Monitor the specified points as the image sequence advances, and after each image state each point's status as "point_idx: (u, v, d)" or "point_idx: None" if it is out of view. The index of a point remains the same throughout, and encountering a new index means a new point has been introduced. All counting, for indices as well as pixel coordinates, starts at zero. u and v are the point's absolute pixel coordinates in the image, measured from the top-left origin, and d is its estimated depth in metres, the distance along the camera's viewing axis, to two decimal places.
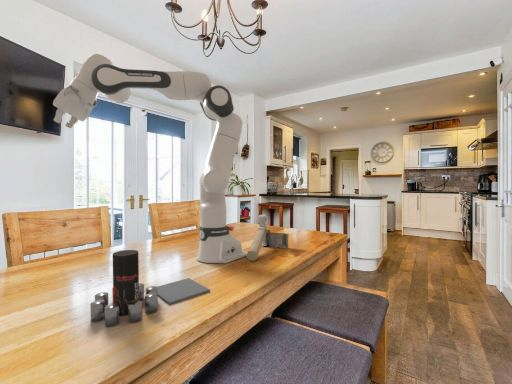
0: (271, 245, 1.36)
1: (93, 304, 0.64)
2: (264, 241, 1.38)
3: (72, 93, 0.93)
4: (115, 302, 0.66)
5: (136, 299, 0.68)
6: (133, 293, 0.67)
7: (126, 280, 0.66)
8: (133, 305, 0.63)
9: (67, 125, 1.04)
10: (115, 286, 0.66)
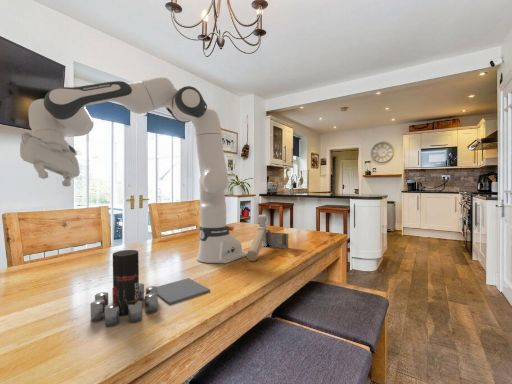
0: (271, 245, 1.36)
1: (93, 304, 0.64)
2: (264, 241, 1.38)
3: (31, 137, 0.80)
4: (115, 302, 0.66)
5: (136, 299, 0.68)
6: (133, 293, 0.67)
7: (126, 280, 0.66)
8: (133, 305, 0.63)
9: (64, 184, 0.89)
10: (115, 286, 0.66)
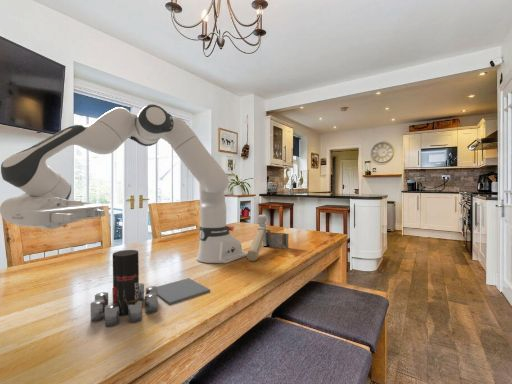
0: (271, 245, 1.36)
1: (93, 304, 0.64)
2: (264, 241, 1.38)
3: None
4: (115, 302, 0.66)
5: (136, 299, 0.68)
6: (133, 293, 0.67)
7: (126, 280, 0.66)
8: (133, 305, 0.63)
9: (99, 214, 0.76)
10: (115, 286, 0.66)
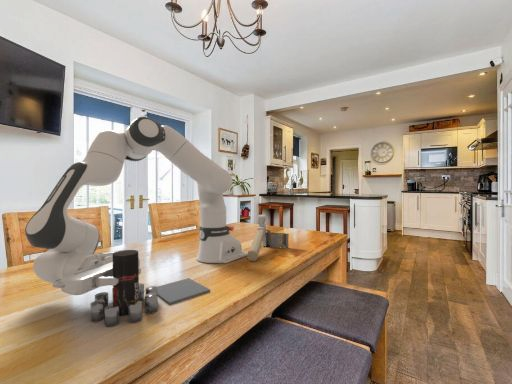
0: (271, 245, 1.36)
1: (93, 304, 0.64)
2: (263, 241, 1.38)
3: None
4: (115, 302, 0.66)
5: (136, 299, 0.68)
6: (133, 293, 0.67)
7: (126, 280, 0.66)
8: (133, 305, 0.63)
9: None
10: (115, 286, 0.66)
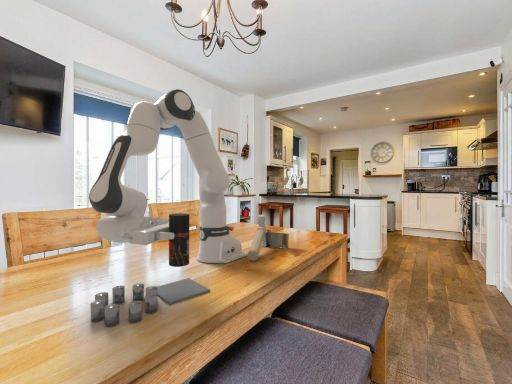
0: (271, 245, 1.36)
1: (93, 304, 0.64)
2: (263, 241, 1.38)
3: (128, 231, 0.75)
4: (171, 255, 0.78)
5: (188, 254, 0.80)
6: (186, 248, 0.79)
7: (181, 236, 0.78)
8: (133, 305, 0.63)
9: None
10: (171, 241, 0.78)
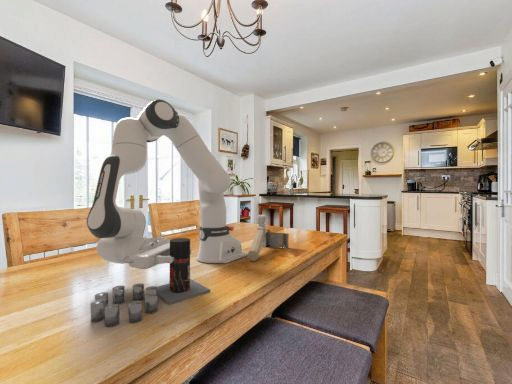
0: (271, 245, 1.36)
1: (93, 304, 0.64)
2: (263, 241, 1.38)
3: (129, 255, 0.76)
4: (172, 281, 0.79)
5: (188, 279, 0.81)
6: (187, 273, 0.80)
7: (182, 262, 0.78)
8: (133, 305, 0.63)
9: None
10: (172, 267, 0.79)
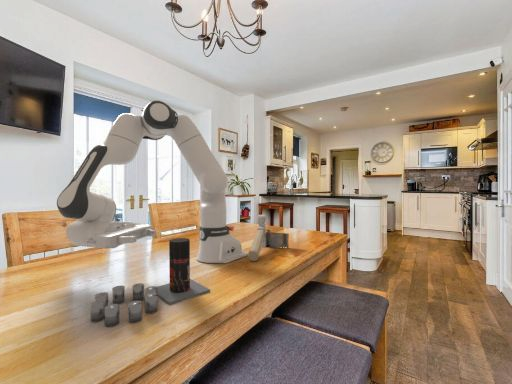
0: (271, 245, 1.36)
1: (93, 304, 0.64)
2: (263, 241, 1.38)
3: (93, 236, 0.80)
4: (172, 281, 0.79)
5: (188, 279, 0.81)
6: (186, 273, 0.80)
7: (181, 262, 0.78)
8: (133, 305, 0.63)
9: (152, 234, 0.89)
10: (172, 268, 0.78)
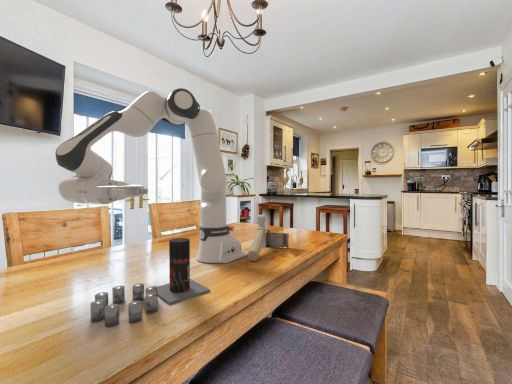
0: (271, 245, 1.36)
1: (93, 304, 0.64)
2: (263, 241, 1.38)
3: (84, 187, 0.80)
4: (172, 281, 0.79)
5: (188, 279, 0.81)
6: (186, 273, 0.80)
7: (181, 262, 0.78)
8: (133, 305, 0.63)
9: (143, 191, 0.89)
10: (172, 268, 0.78)
